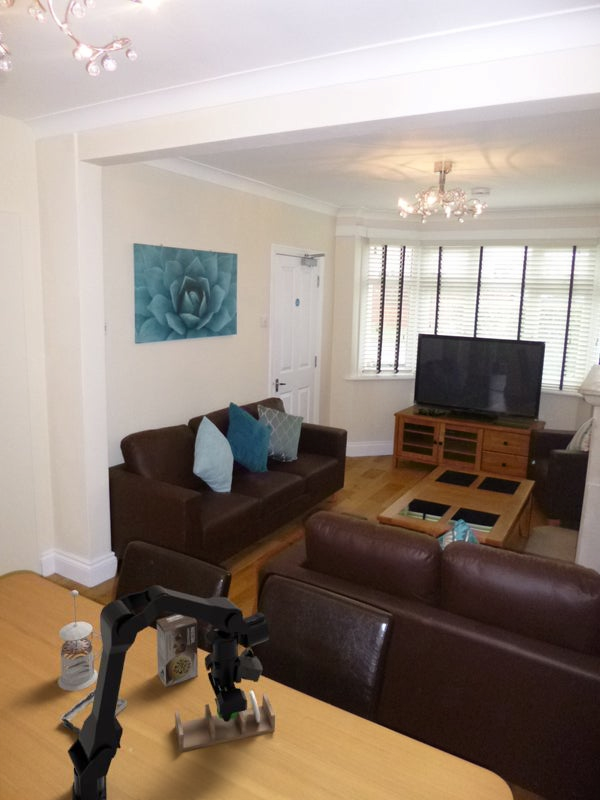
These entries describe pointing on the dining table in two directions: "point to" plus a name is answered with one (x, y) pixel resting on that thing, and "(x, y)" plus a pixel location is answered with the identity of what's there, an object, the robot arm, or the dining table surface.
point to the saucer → (254, 706)
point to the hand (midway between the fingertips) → (224, 713)
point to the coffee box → (177, 649)
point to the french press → (76, 643)
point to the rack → (223, 727)
